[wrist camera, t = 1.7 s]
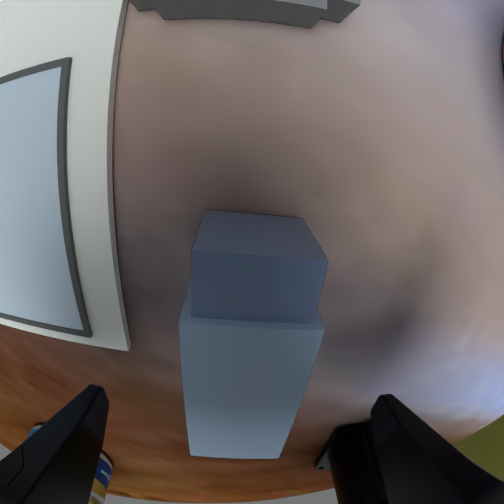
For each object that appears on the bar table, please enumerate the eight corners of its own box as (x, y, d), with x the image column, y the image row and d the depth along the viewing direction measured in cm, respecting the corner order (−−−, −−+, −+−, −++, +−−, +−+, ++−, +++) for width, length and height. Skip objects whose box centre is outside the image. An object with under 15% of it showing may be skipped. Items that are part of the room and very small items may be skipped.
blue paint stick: (271, 396, 15) (278, 458, 11) (197, 392, 15) (190, 454, 11) (309, 216, 11) (343, 266, 7) (198, 207, 10) (177, 254, 7)
